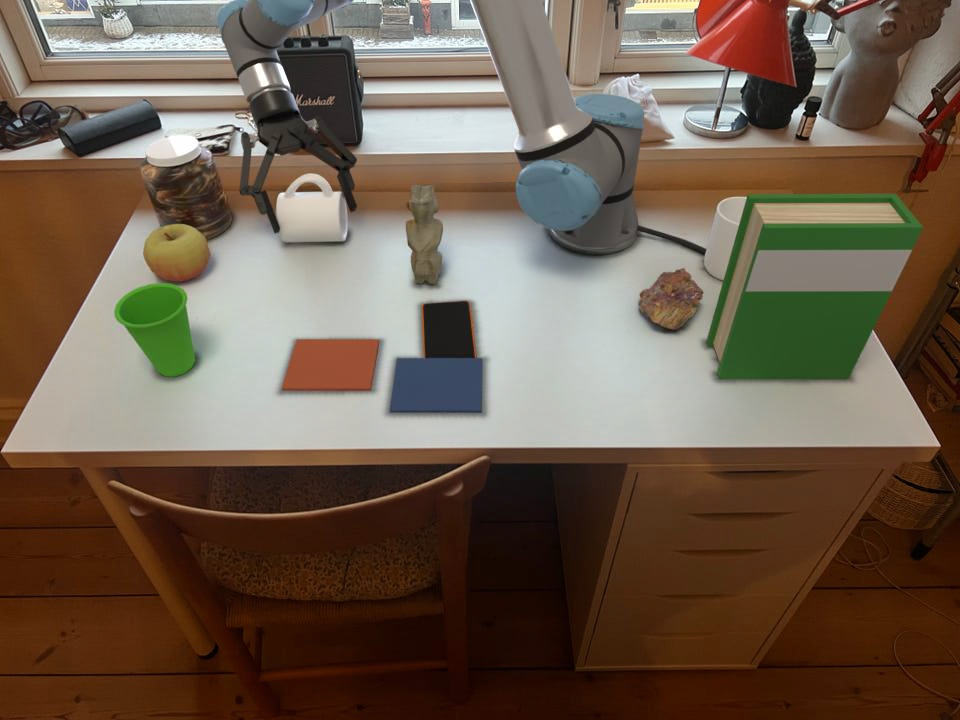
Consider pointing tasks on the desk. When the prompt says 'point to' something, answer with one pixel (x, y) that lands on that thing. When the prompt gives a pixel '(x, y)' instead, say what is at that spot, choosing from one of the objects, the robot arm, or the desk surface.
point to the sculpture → (424, 234)
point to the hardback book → (808, 283)
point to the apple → (176, 252)
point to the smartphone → (448, 330)
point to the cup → (159, 326)
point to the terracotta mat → (331, 364)
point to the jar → (185, 185)
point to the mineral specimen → (671, 299)
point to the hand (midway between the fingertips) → (316, 220)
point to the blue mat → (437, 385)
